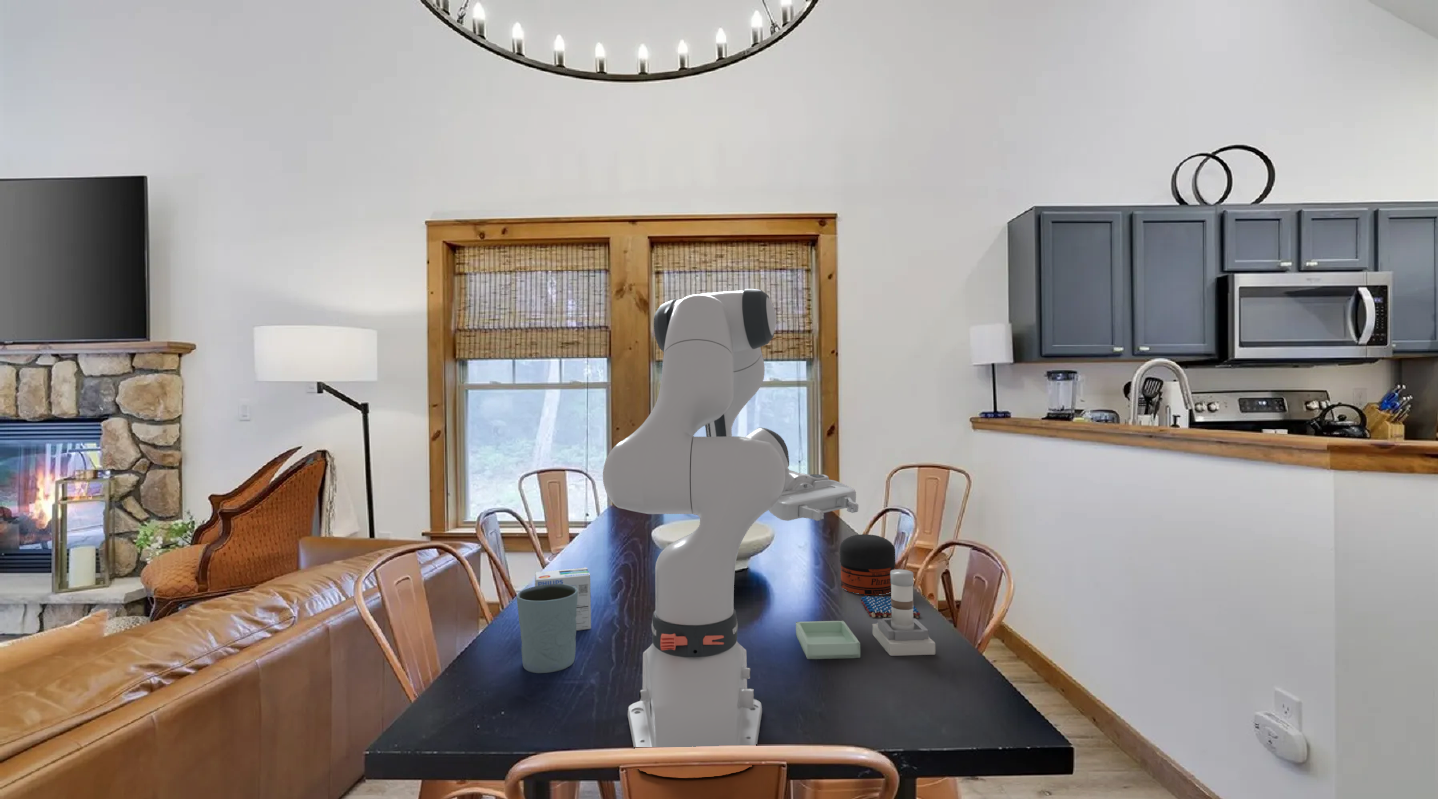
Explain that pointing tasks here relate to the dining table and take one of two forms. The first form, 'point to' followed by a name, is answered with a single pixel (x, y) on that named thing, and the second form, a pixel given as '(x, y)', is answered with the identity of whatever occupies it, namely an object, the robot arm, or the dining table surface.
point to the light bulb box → (578, 580)
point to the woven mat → (881, 606)
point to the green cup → (548, 627)
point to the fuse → (902, 599)
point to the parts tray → (827, 640)
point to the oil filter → (867, 564)
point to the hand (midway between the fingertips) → (838, 512)
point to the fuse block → (904, 639)
